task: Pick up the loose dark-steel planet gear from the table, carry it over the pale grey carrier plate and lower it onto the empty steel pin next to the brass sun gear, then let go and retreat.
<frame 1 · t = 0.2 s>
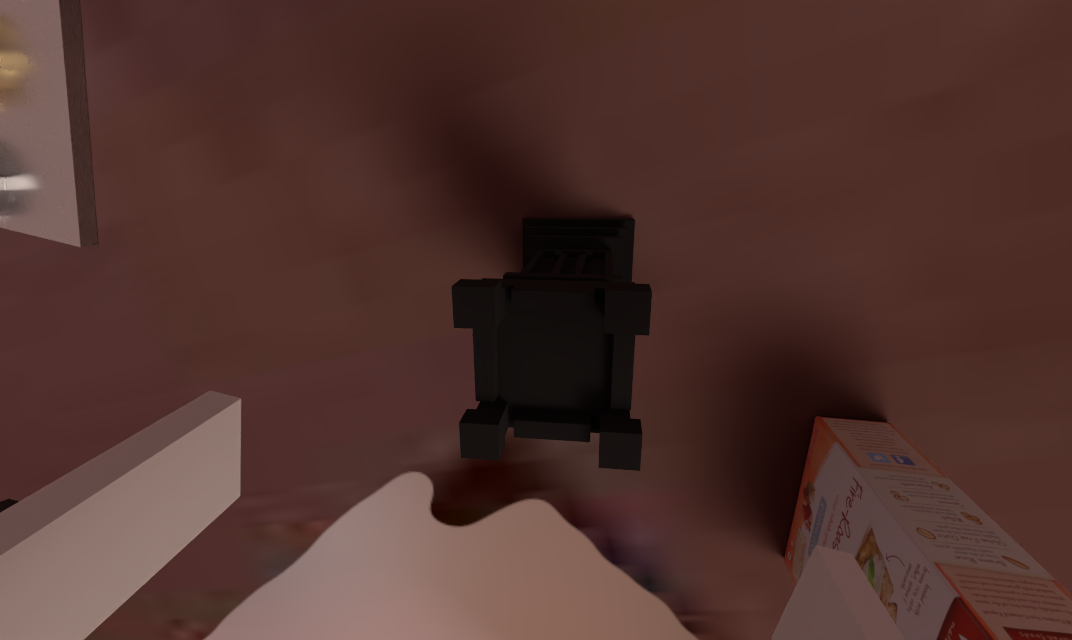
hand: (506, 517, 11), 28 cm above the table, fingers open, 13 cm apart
chess piece: (577, 271, 38), on the table
cracker box: (829, 492, 41), on the table
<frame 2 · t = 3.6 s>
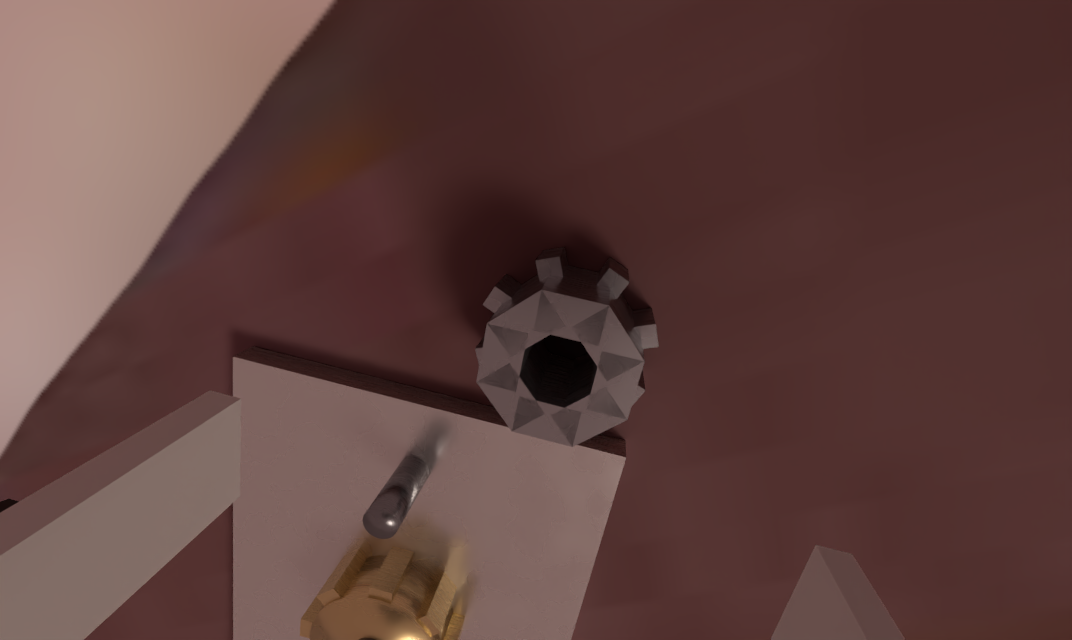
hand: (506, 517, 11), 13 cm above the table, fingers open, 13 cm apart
planet gear: (568, 329, 24), on the table
carrier: (405, 583, 30), on the table
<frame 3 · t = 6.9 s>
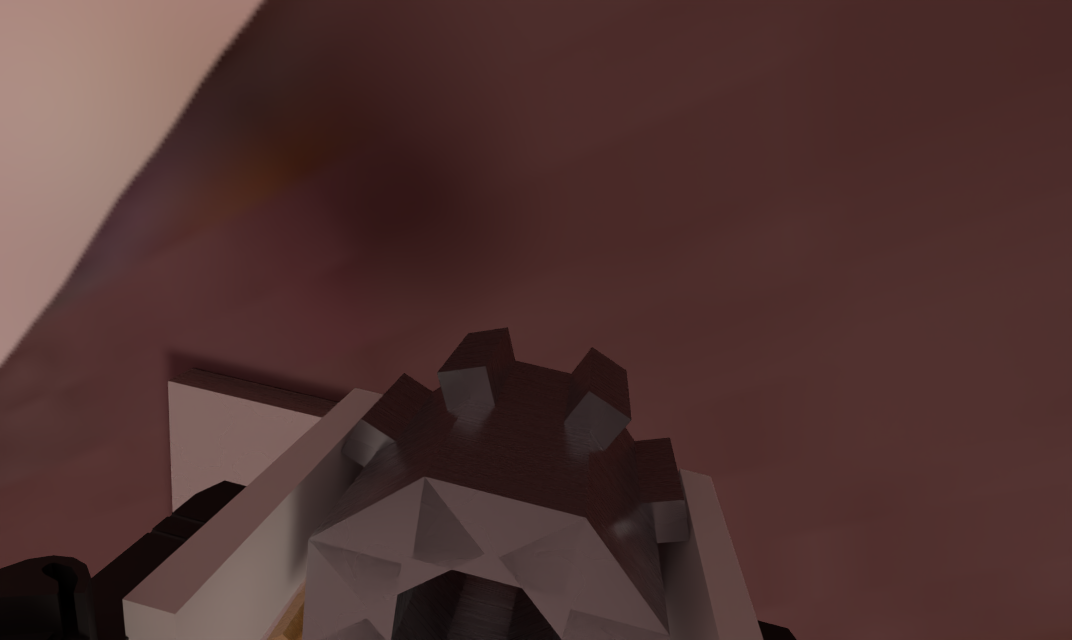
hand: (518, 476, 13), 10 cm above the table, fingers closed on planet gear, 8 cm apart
planet gear: (520, 469, 13), point 9 cm above the table, touching gripper
carrier: (367, 619, 28), on the table
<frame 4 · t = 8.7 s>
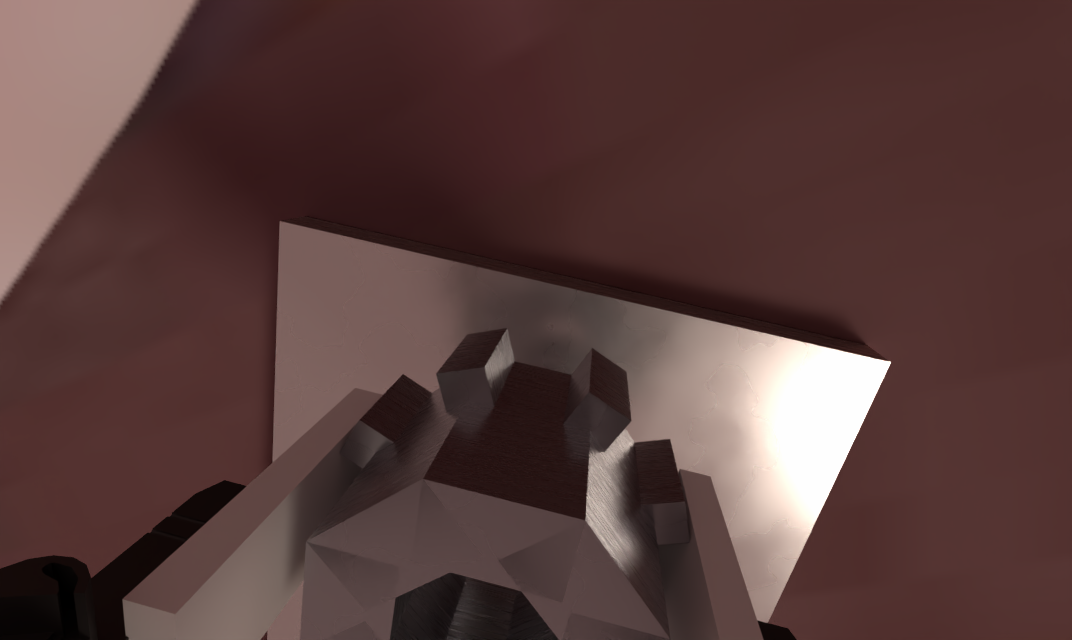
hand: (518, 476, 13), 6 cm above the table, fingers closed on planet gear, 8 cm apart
planet gear: (519, 471, 13), point 6 cm above the table, touching gripper
carrier: (508, 564, 22), on the table
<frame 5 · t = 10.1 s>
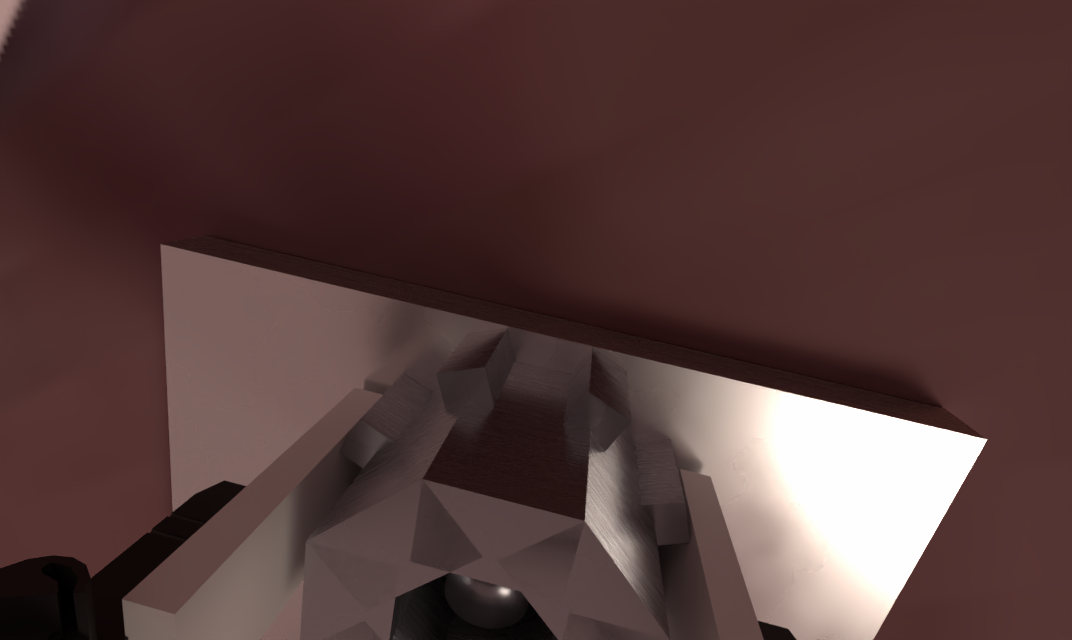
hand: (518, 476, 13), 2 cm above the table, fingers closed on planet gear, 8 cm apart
planet gear: (520, 470, 13), point 2 cm above the table, touching carrier, gripper
when the fingers open (2 cm above the table, at t = 10.8 s): planet gear stays where it is, resting on carrier.
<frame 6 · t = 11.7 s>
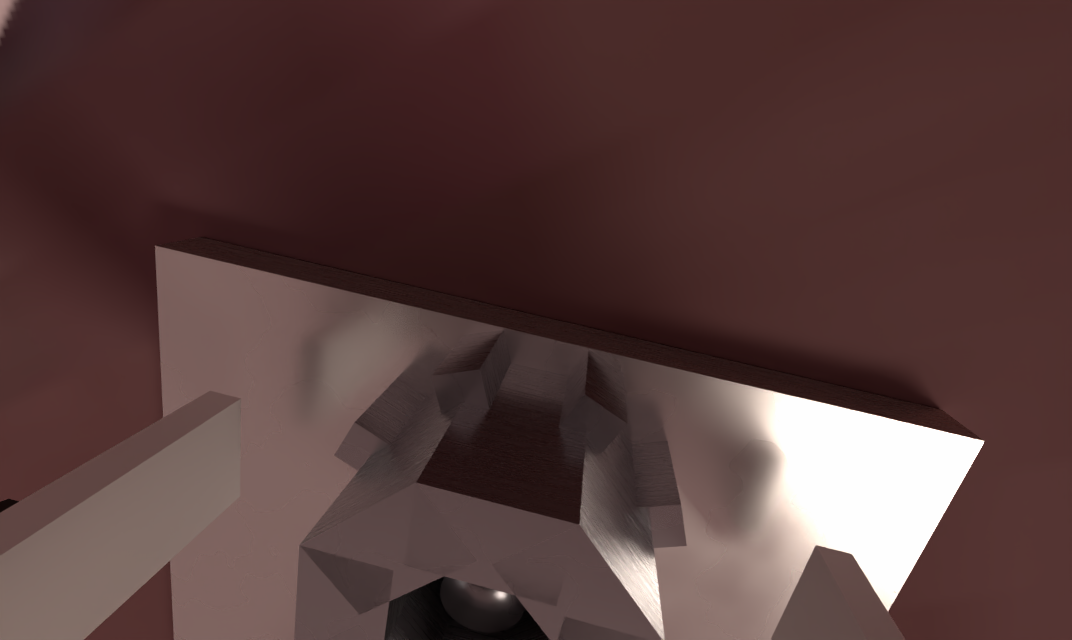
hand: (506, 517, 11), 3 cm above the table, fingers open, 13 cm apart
planet gear: (516, 473, 13), point 1 cm above the table, touching carrier
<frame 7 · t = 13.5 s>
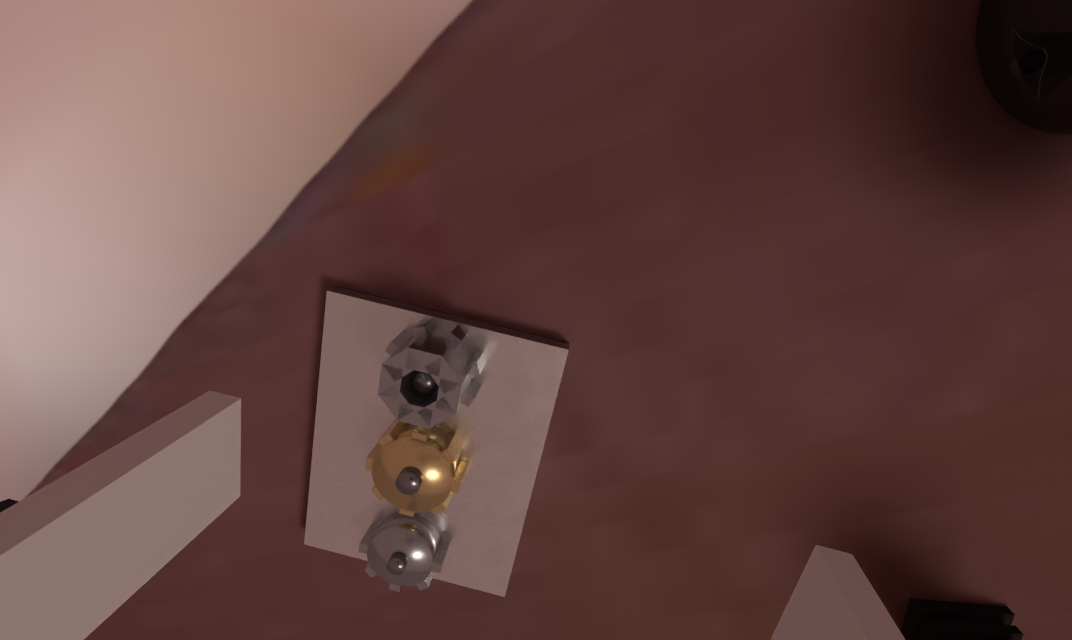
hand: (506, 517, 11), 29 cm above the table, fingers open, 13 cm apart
planet gear: (439, 363, 41), point 1 cm above the table, touching carrier
carrier: (428, 447, 46), on the table
chess piece: (945, 635, 46), on the table
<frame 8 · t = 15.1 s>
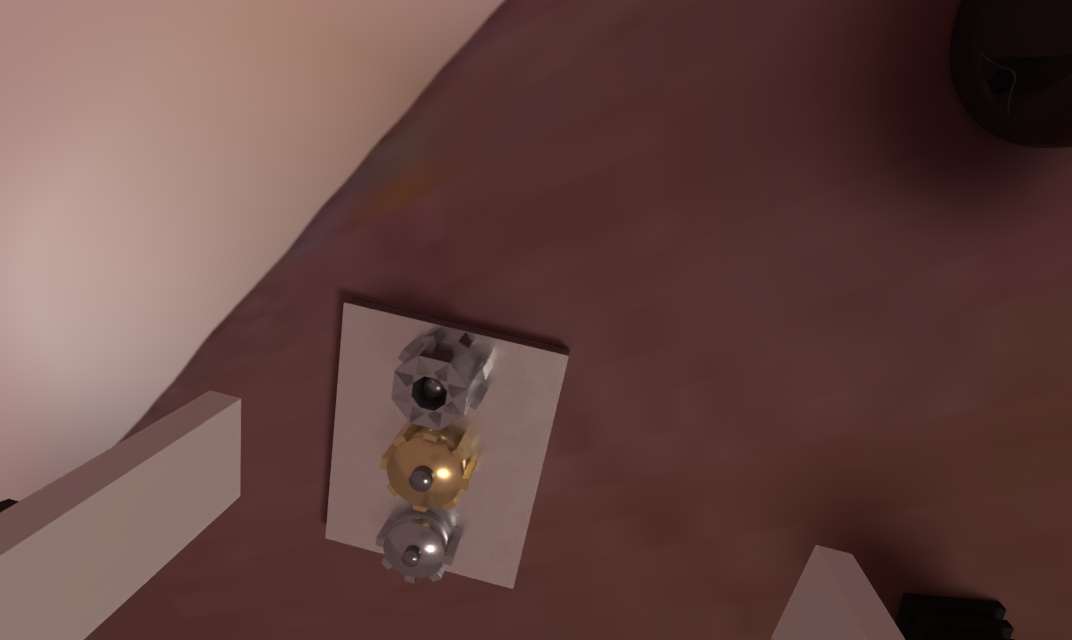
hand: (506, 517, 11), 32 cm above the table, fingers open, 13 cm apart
planet gear: (448, 368, 44), point 1 cm above the table, touching carrier
carrier: (439, 447, 49), on the table
chess piece: (939, 629, 48), on the table
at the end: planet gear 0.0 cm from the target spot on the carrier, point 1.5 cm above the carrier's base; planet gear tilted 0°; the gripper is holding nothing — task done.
